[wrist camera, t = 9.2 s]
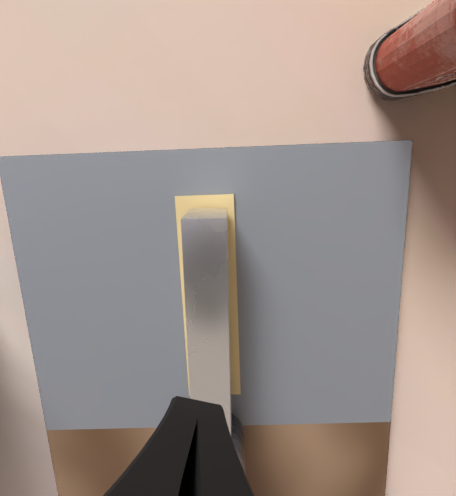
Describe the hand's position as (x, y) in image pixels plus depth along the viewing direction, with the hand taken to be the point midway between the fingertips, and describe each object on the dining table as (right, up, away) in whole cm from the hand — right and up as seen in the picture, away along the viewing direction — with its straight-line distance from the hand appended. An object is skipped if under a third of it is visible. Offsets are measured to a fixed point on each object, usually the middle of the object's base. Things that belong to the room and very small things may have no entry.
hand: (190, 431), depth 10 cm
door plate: (0, +3, +8) cm, 9 cm away
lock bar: (0, 0, +7) cm, 7 cm away
